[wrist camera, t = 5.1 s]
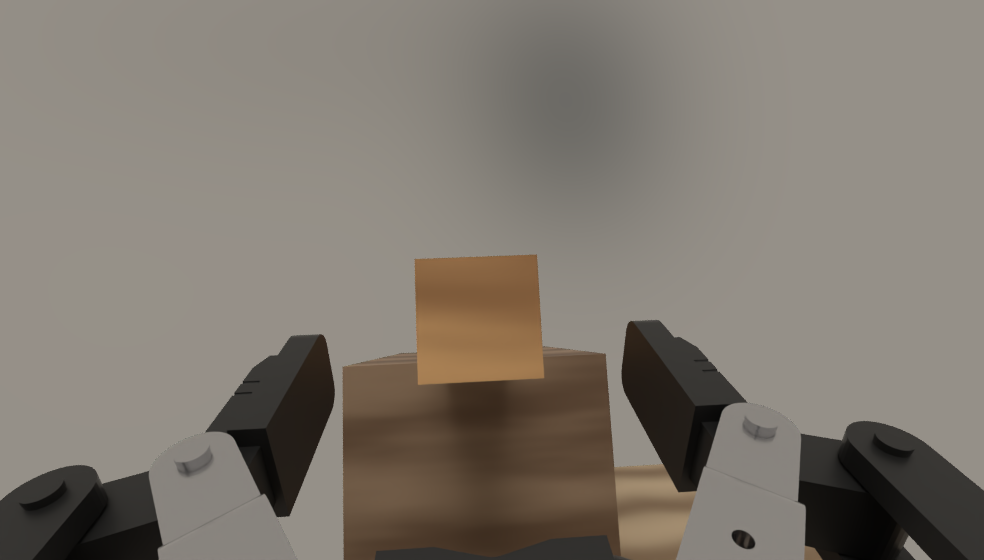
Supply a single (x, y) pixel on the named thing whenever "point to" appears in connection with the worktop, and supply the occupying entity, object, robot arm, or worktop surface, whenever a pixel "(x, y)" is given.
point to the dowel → (478, 319)
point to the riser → (497, 464)
